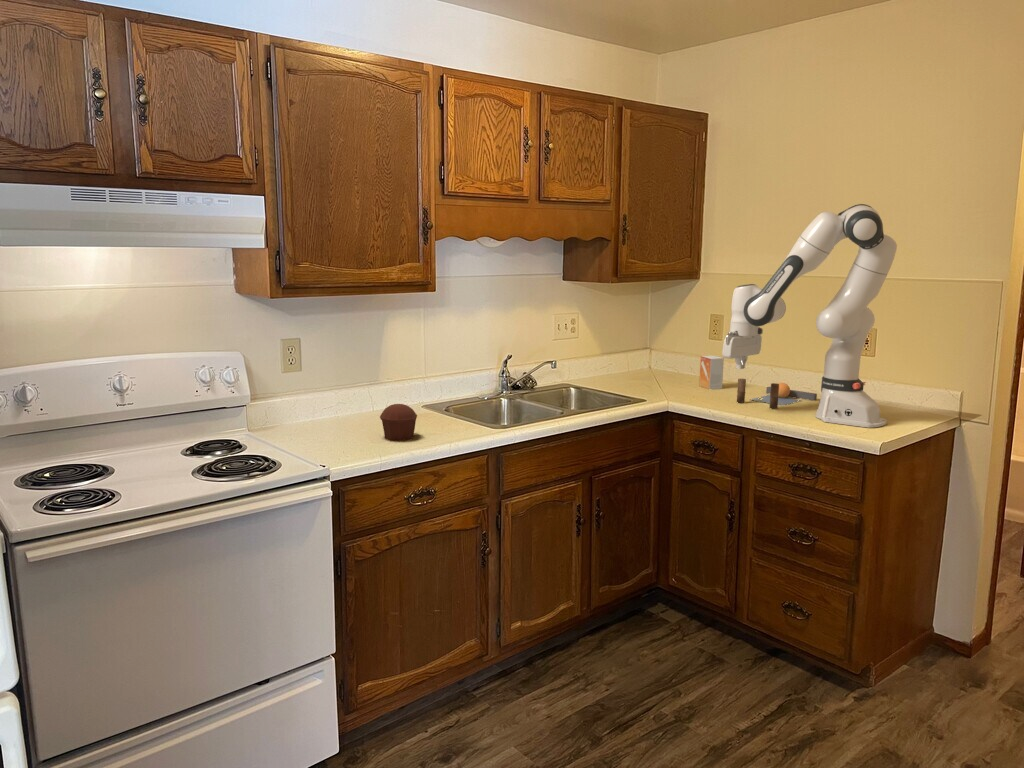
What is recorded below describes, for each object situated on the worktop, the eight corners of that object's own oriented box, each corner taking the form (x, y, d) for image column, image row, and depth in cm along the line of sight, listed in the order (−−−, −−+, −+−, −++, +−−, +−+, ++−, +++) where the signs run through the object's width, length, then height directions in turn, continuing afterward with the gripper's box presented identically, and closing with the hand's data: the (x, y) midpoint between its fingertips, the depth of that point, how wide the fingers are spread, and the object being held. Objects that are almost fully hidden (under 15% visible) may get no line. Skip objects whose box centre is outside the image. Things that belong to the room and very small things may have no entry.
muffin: (423, 439, 235) (423, 406, 233) (388, 443, 229) (388, 410, 227) (408, 431, 245) (407, 399, 243) (374, 435, 239) (374, 403, 237)
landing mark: (801, 400, 297) (801, 400, 297) (783, 405, 288) (783, 405, 288) (768, 395, 307) (768, 395, 307) (749, 400, 298) (749, 399, 298)
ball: (794, 391, 303) (790, 380, 299) (787, 402, 300) (782, 392, 297) (781, 388, 307) (776, 378, 304) (773, 399, 305) (768, 389, 302)
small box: (698, 386, 327) (700, 355, 324) (712, 385, 329) (713, 355, 326) (709, 389, 319) (710, 358, 317) (722, 389, 321) (724, 357, 319)
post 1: (745, 402, 293) (747, 379, 291) (741, 403, 291) (743, 380, 289) (739, 401, 295) (740, 378, 293) (735, 402, 293) (736, 379, 291)
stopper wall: (816, 400, 299) (817, 393, 299) (814, 400, 298) (814, 394, 297) (768, 392, 313) (769, 386, 313) (766, 393, 312) (766, 387, 312)
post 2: (778, 408, 283) (780, 384, 282) (775, 409, 281) (776, 384, 280) (771, 407, 285) (773, 383, 284) (767, 408, 283) (769, 383, 282)
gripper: (735, 333, 265) (732, 373, 267) (765, 329, 279) (763, 367, 281) (718, 331, 270) (716, 370, 272) (749, 327, 283) (747, 365, 286)
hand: (740, 368), depth 277 cm, fingers closed
